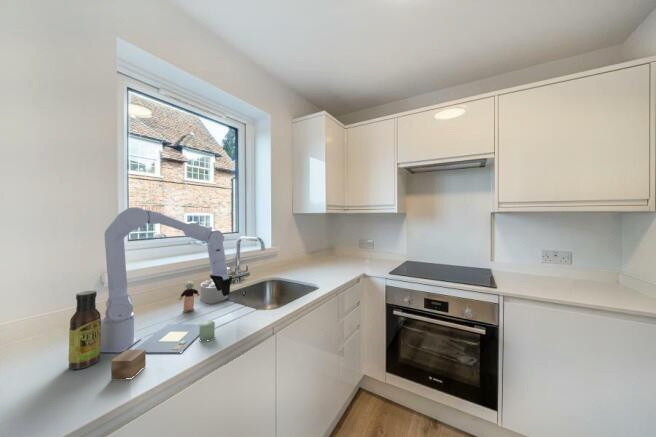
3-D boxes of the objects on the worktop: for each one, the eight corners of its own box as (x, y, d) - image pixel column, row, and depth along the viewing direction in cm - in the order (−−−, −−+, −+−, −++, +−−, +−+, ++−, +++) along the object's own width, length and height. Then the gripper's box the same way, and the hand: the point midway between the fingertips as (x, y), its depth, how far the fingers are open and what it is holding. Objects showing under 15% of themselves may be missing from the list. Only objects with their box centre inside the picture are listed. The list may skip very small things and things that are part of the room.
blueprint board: (130, 353, 73) (130, 351, 73) (168, 325, 91) (168, 323, 91) (181, 353, 74) (181, 351, 74) (208, 325, 92) (208, 324, 92)
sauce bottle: (81, 372, 64) (80, 297, 64) (62, 369, 65) (61, 295, 65) (107, 358, 71) (106, 289, 70) (88, 355, 72) (88, 288, 71)
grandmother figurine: (182, 314, 101) (182, 283, 101) (178, 311, 103) (178, 282, 103) (201, 308, 107) (201, 279, 107) (196, 306, 109) (197, 278, 109)
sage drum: (196, 341, 80) (196, 326, 80) (203, 334, 85) (203, 320, 85) (210, 341, 80) (210, 326, 80) (216, 334, 85) (216, 320, 85)
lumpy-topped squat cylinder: (210, 304, 112) (210, 285, 112) (194, 298, 119) (194, 281, 119) (230, 298, 121) (230, 280, 120) (214, 292, 128) (214, 276, 127)
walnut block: (111, 380, 62) (111, 360, 62) (126, 367, 67) (126, 349, 67) (131, 380, 62) (131, 360, 62) (145, 367, 67) (145, 349, 67)
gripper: (234, 260, 93) (240, 293, 95) (222, 254, 104) (227, 284, 106) (215, 265, 88) (221, 300, 90) (204, 258, 99) (210, 290, 101)
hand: (223, 292), depth 97 cm, fingers open, 7 cm apart
